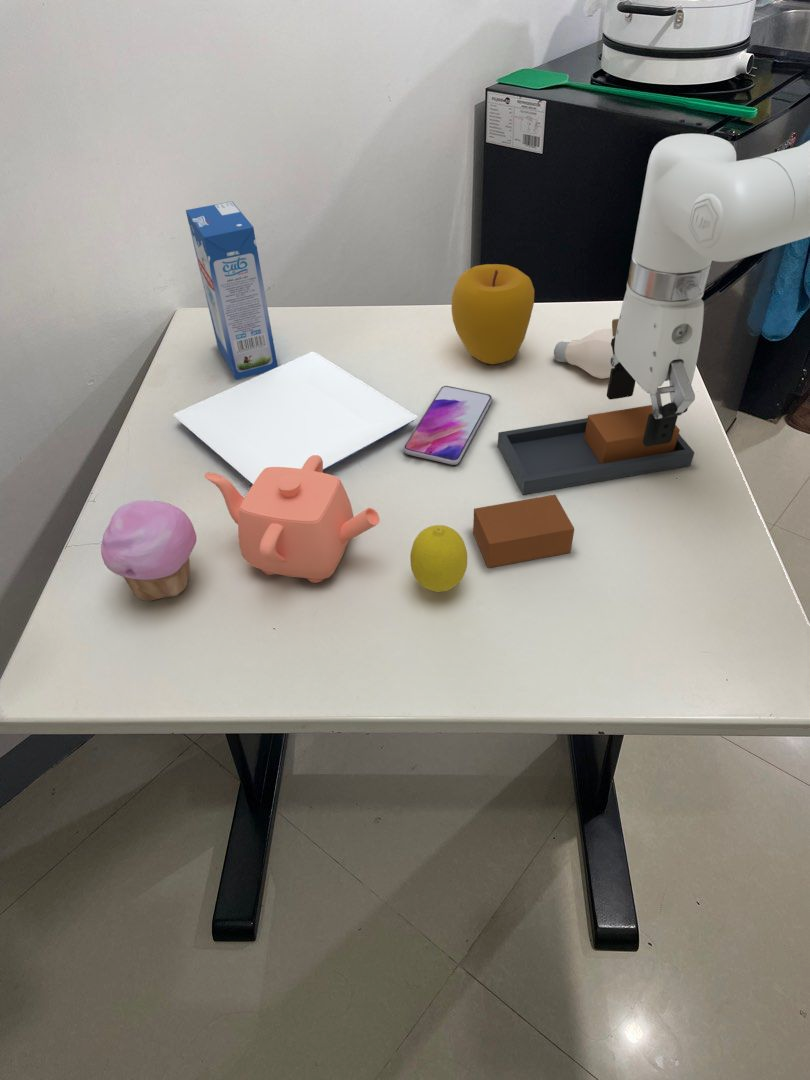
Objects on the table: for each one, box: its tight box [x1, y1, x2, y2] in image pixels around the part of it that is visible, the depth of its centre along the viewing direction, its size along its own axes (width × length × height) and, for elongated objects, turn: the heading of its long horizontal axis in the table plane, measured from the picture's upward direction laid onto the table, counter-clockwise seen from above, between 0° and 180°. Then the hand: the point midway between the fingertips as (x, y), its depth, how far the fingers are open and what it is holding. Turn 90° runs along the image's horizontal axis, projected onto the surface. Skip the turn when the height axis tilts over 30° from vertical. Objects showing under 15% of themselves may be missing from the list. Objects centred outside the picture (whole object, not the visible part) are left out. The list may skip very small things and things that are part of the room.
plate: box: [173, 351, 418, 485], centre depth 93 cm, size 22×22×2 cm
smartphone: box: [402, 385, 493, 466], centre depth 93 cm, size 7×1×15 cm
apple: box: [451, 263, 535, 365], centre depth 100 cm, size 11×11×13 cm
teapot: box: [203, 455, 381, 584], centre depth 74 cm, size 14×12×10 cm
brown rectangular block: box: [584, 404, 681, 464], centre depth 87 cm, size 6×9×4 cm, turn 102°
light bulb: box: [553, 328, 615, 380], centre depth 100 cm, size 7×7×11 cm
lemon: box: [409, 524, 468, 593], centre depth 71 cm, size 6×6×8 cm
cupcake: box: [100, 499, 197, 602], centre depth 72 cm, size 9×9×10 cm
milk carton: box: [185, 201, 279, 381], centre depth 100 cm, size 10×6×20 cm, turn 25°
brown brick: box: [472, 494, 575, 569], centre depth 77 cm, size 6×9×4 cm, turn 102°
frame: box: [497, 417, 695, 496], centre depth 87 cm, size 10×21×2 cm, turn 102°
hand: (637, 419), depth 85 cm, fingers open, 9 cm apart
